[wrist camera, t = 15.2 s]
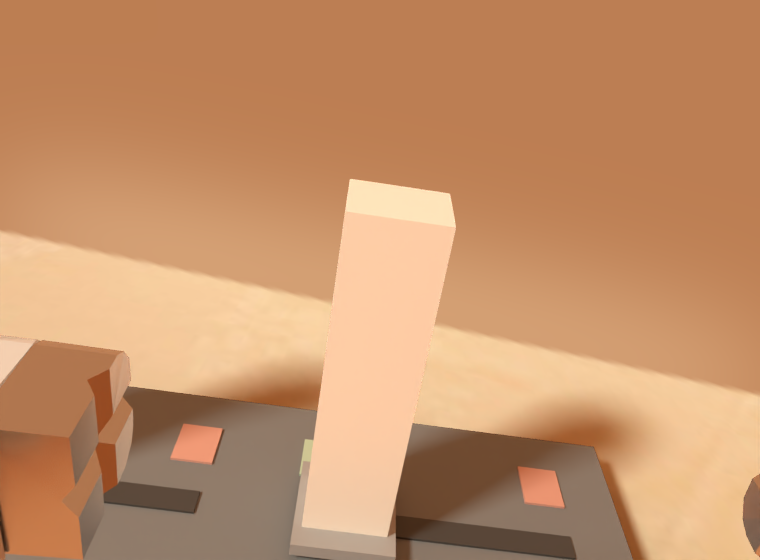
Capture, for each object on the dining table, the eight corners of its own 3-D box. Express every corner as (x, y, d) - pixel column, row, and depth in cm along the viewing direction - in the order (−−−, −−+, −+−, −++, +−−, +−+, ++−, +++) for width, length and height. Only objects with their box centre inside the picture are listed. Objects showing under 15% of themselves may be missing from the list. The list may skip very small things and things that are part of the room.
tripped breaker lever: (393, 481, 28) (458, 185, 22) (393, 566, 25) (469, 242, 19) (301, 470, 28) (341, 167, 22) (288, 554, 25) (331, 221, 19)
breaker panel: (581, 479, 33) (594, 445, 32) (666, 754, 23) (689, 716, 22) (-62, 397, 32) (-69, 358, 31) (-288, 653, 21) (-310, 606, 20)
